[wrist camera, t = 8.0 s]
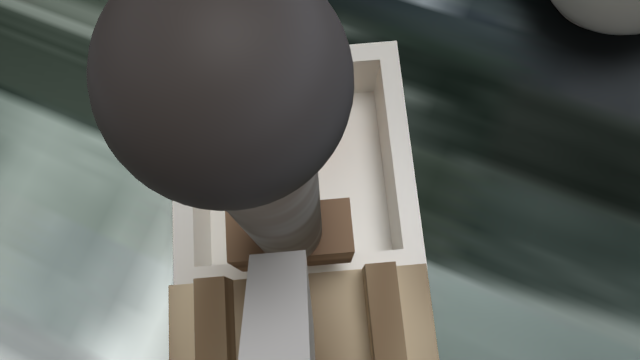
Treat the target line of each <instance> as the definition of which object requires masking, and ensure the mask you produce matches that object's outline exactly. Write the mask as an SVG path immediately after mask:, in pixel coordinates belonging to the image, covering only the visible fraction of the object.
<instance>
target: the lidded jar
mask: <svg viewBox="0 0 640 360" xmlns="http://www.w3.org/2000/svg"><path fill="white" fill-rule="evenodd" d="M550 1H551V2H552V3H553V5H554V6H555V7H556V8H557V10H558V11H559V12H560V13H561V14H562V15H563V16H564V17H565V18H566V19H567V20H569V21H570V22H572V23H573V24H575V25H577V26H579V27H582V28H584V29H588V30H591V31H594V32H598V33H603V34H610V35H636V34H640V0H550Z"/></svg>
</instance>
